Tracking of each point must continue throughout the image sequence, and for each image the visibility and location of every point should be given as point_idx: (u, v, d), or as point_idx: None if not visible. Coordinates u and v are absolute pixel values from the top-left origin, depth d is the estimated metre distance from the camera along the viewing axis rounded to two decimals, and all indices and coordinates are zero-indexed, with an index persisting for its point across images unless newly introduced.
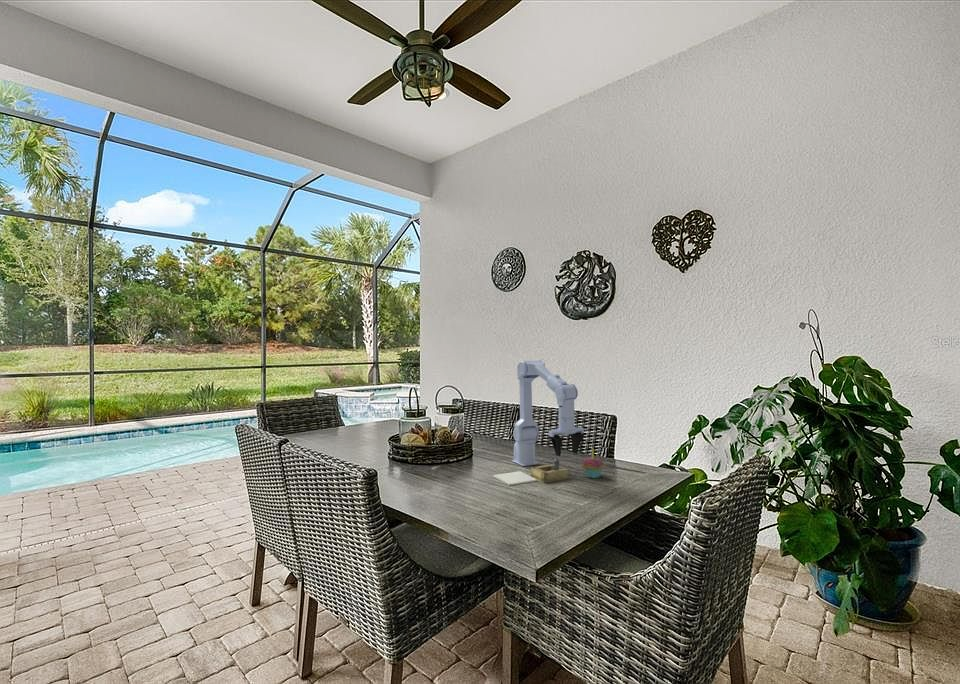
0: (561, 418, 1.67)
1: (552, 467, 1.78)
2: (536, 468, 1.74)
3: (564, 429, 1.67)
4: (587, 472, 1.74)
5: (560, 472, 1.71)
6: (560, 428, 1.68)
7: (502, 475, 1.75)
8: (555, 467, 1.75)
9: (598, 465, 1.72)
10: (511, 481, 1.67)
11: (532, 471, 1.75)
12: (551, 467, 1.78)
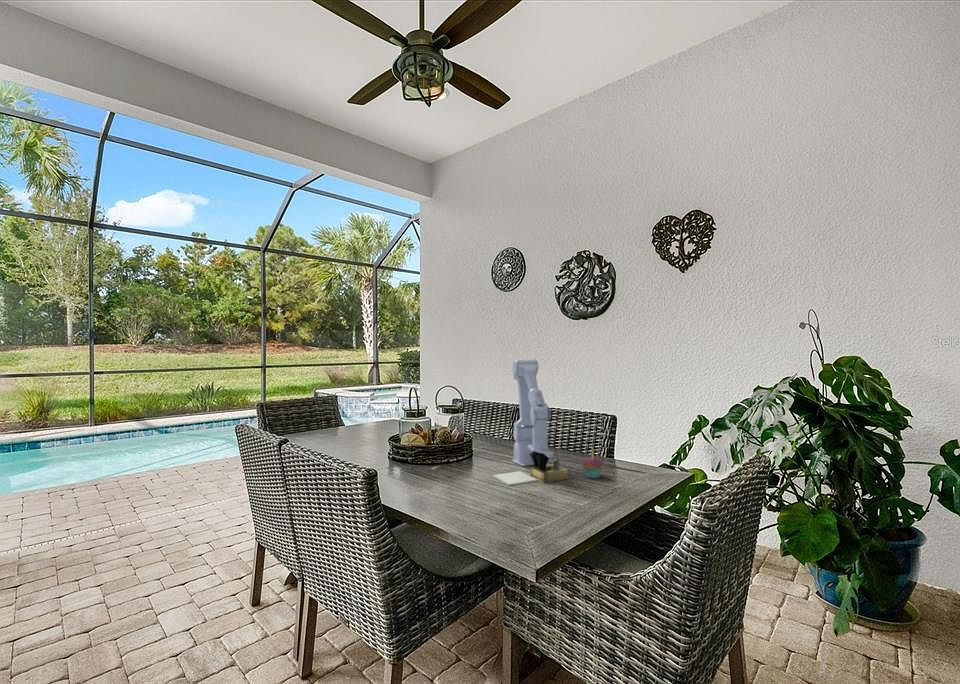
0: None
1: (552, 467, 1.78)
2: (536, 468, 1.74)
3: None
4: (587, 472, 1.74)
5: (560, 472, 1.71)
6: None
7: (502, 475, 1.75)
8: (555, 467, 1.75)
9: (598, 465, 1.72)
10: (511, 481, 1.67)
11: (532, 471, 1.75)
12: (551, 467, 1.78)
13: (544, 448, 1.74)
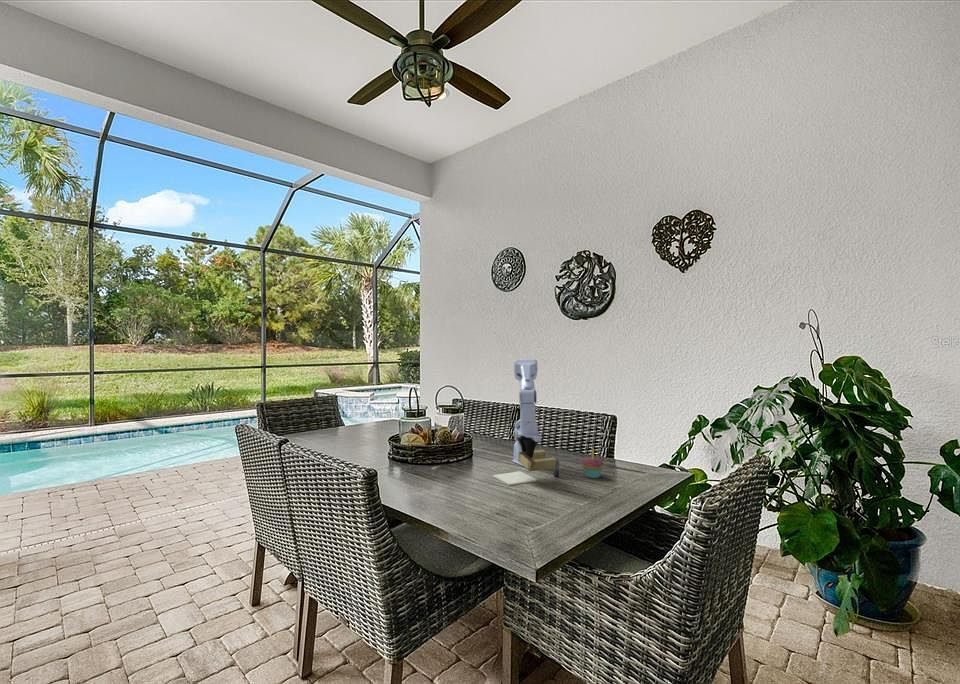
0: None
1: (540, 453, 1.76)
2: (524, 454, 1.72)
3: None
4: (587, 472, 1.74)
5: (548, 462, 1.69)
6: None
7: (502, 475, 1.75)
8: (555, 467, 1.75)
9: (598, 465, 1.72)
10: (511, 481, 1.67)
11: (520, 456, 1.72)
12: (539, 453, 1.75)
13: (532, 432, 1.72)
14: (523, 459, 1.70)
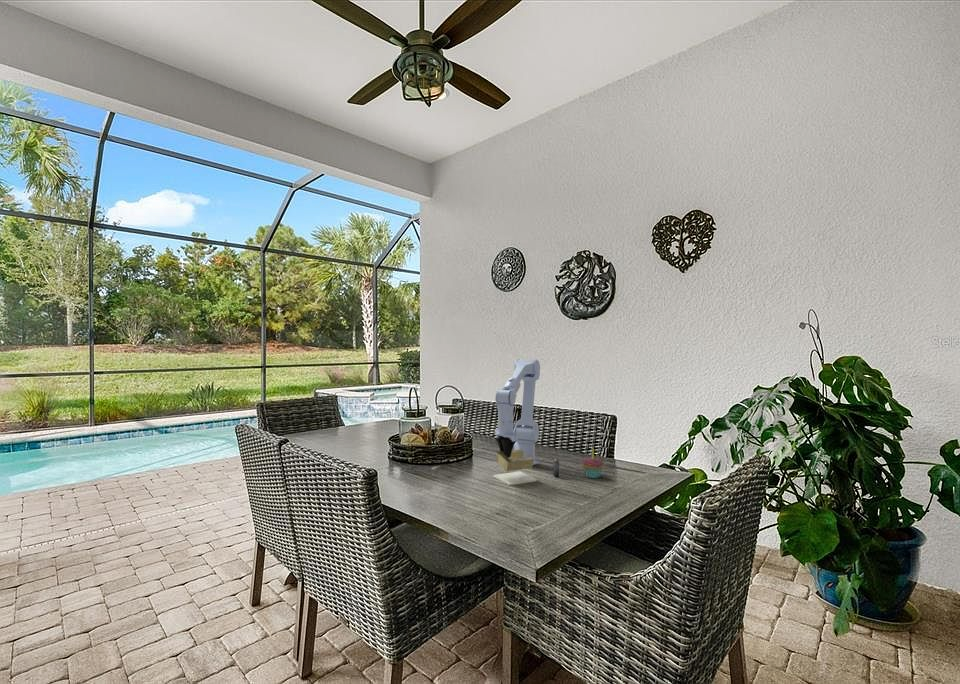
0: None
1: (518, 453, 1.76)
2: (502, 454, 1.73)
3: None
4: (587, 472, 1.74)
5: (525, 461, 1.70)
6: None
7: (502, 475, 1.75)
8: (555, 467, 1.75)
9: (598, 465, 1.72)
10: (511, 481, 1.67)
11: (497, 456, 1.73)
12: (517, 453, 1.76)
13: (509, 432, 1.73)
14: (500, 459, 1.71)
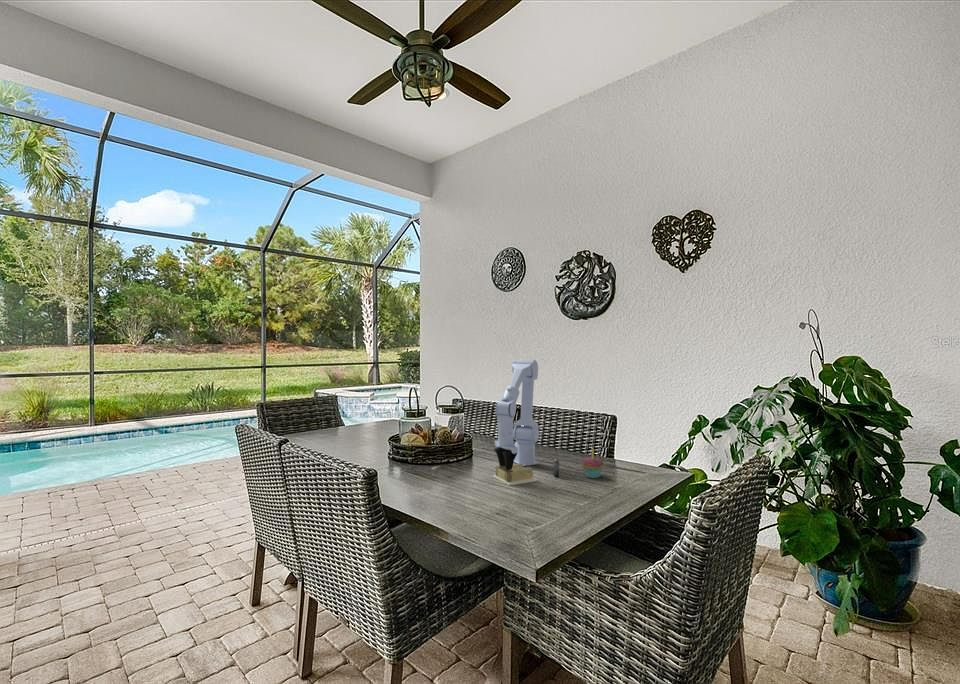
0: None
1: (518, 466, 1.77)
2: (501, 467, 1.73)
3: None
4: (587, 472, 1.74)
5: (524, 471, 1.70)
6: None
7: None
8: (555, 467, 1.75)
9: (598, 465, 1.72)
10: None
11: (497, 470, 1.74)
12: (517, 466, 1.77)
13: (509, 444, 1.73)
14: (500, 472, 1.71)
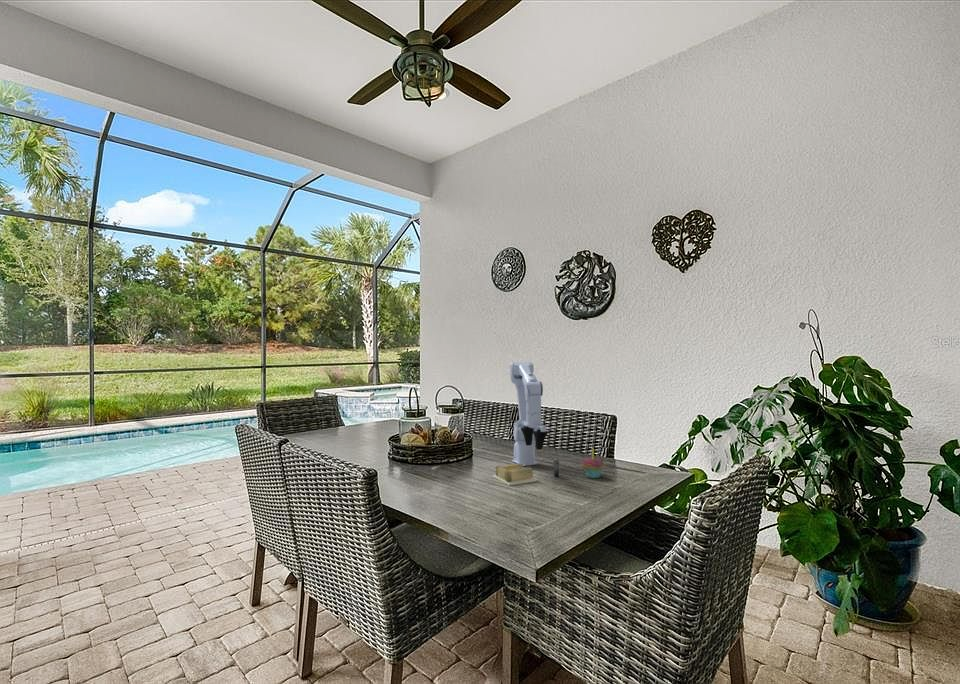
0: None
1: (518, 466, 1.77)
2: (501, 467, 1.73)
3: None
4: (587, 472, 1.74)
5: (524, 471, 1.70)
6: None
7: None
8: (555, 467, 1.75)
9: (598, 465, 1.72)
10: None
11: (497, 470, 1.74)
12: (517, 466, 1.77)
13: (538, 423, 1.77)
14: (500, 472, 1.71)
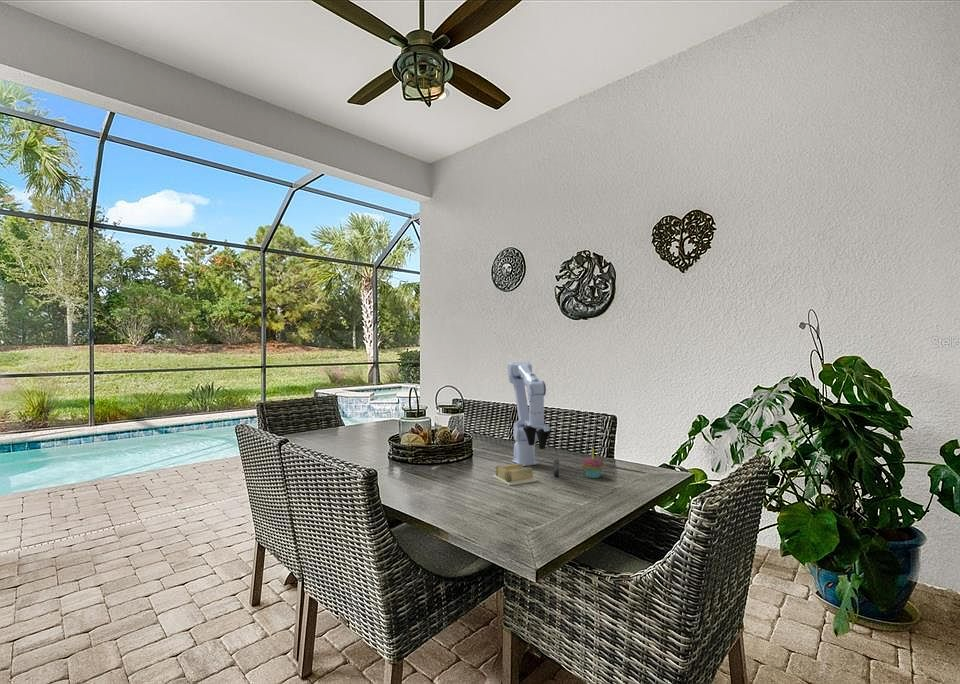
0: None
1: (518, 466, 1.77)
2: (501, 467, 1.73)
3: None
4: (587, 472, 1.74)
5: (524, 471, 1.70)
6: None
7: None
8: (555, 467, 1.75)
9: (598, 465, 1.72)
10: None
11: (497, 470, 1.74)
12: (517, 466, 1.77)
13: (540, 423, 1.77)
14: (500, 472, 1.71)
